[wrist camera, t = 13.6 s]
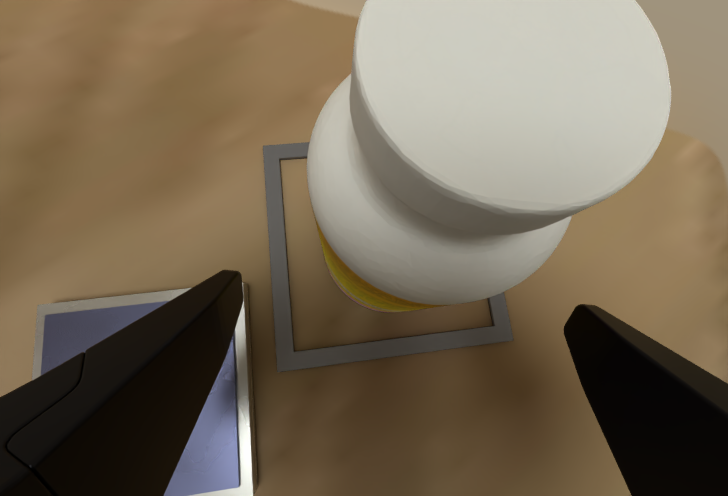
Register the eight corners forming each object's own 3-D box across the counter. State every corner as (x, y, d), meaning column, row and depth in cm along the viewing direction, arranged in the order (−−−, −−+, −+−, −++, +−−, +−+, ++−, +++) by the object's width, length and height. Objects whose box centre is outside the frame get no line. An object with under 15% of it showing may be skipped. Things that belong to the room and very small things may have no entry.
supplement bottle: (420, 335, 16) (682, 397, 4) (301, 277, 17) (175, 148, 4) (469, 220, 18) (778, -14, 5) (359, 167, 18) (402, -180, 5)
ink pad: (257, 486, 14) (251, 498, 14) (38, 522, 14) (14, 538, 13) (247, 283, 16) (241, 281, 15) (53, 305, 15) (33, 304, 15)
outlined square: (511, 340, 17) (513, 340, 16) (278, 371, 16) (277, 372, 15) (469, 132, 19) (470, 130, 19) (263, 147, 18) (263, 145, 18)
